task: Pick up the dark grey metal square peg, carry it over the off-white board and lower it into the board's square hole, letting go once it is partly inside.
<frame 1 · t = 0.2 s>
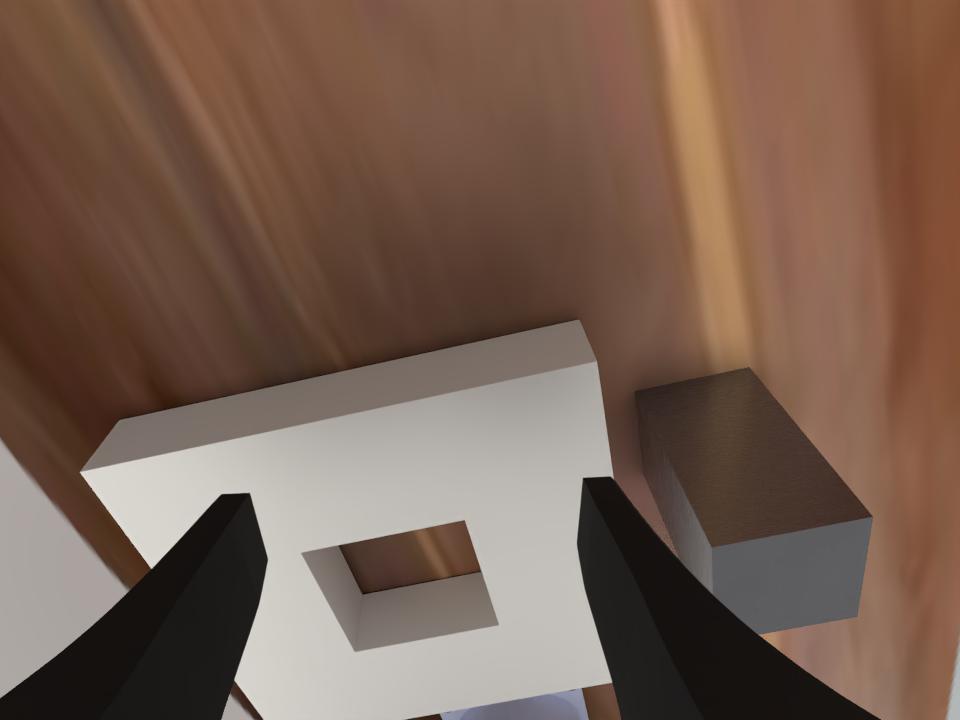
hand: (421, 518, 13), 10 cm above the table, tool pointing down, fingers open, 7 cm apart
square peg: (694, 423, 25), on the table
hole board: (409, 535, 28), on the table
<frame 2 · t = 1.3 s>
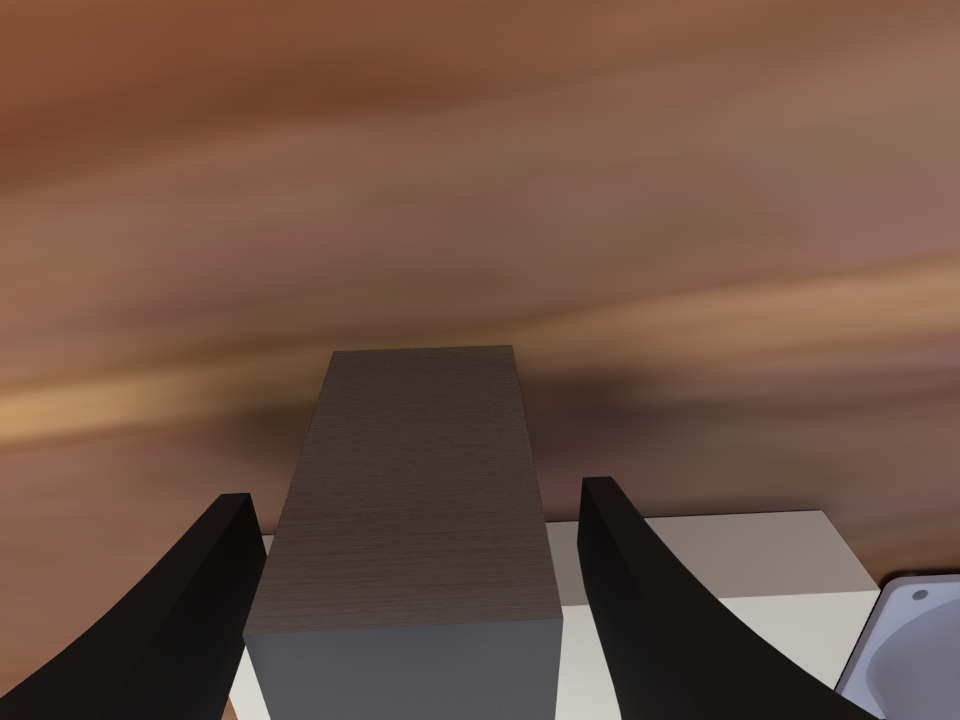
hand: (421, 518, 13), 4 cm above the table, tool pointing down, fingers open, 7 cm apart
square peg: (428, 420, 17), on the table
hole board: (526, 694, 23), on the table
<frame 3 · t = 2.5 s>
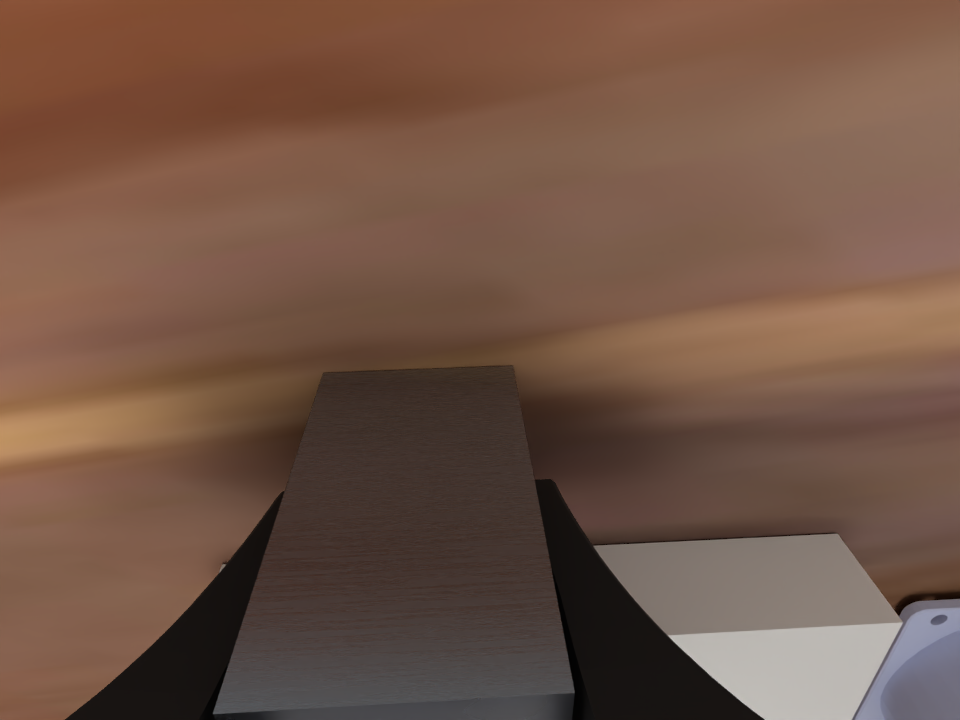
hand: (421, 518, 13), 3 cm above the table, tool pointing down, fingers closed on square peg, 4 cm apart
square peg: (424, 444, 16), on the table, touching gripper
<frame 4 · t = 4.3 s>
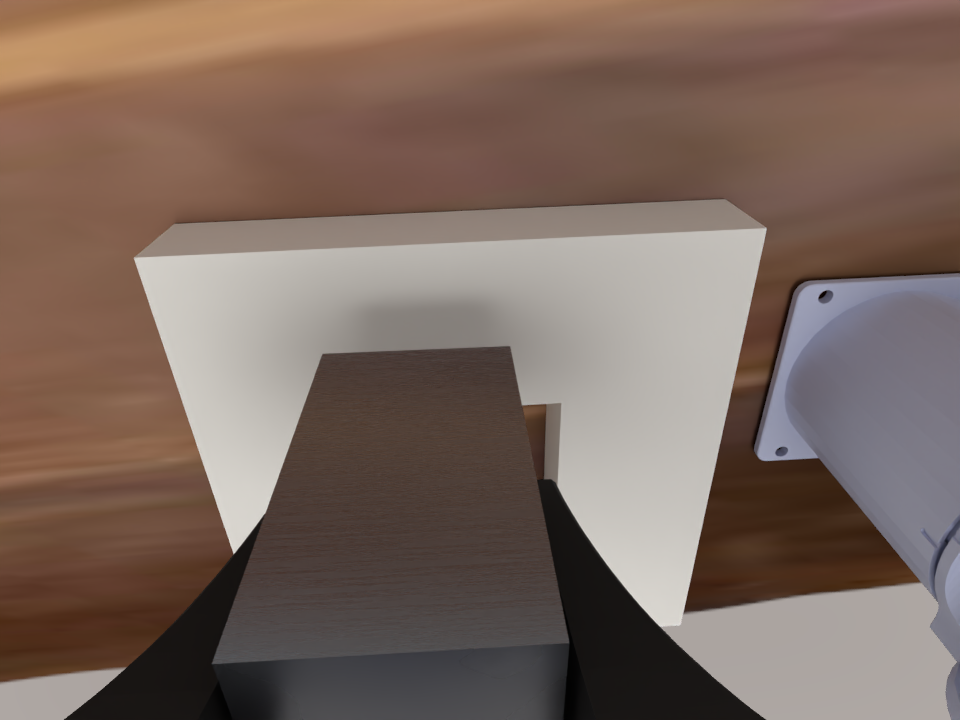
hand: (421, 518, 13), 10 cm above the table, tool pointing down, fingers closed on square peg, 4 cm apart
square peg: (422, 426, 16), point 7 cm above the table, touching gripper
hole board: (465, 431, 24), on the table
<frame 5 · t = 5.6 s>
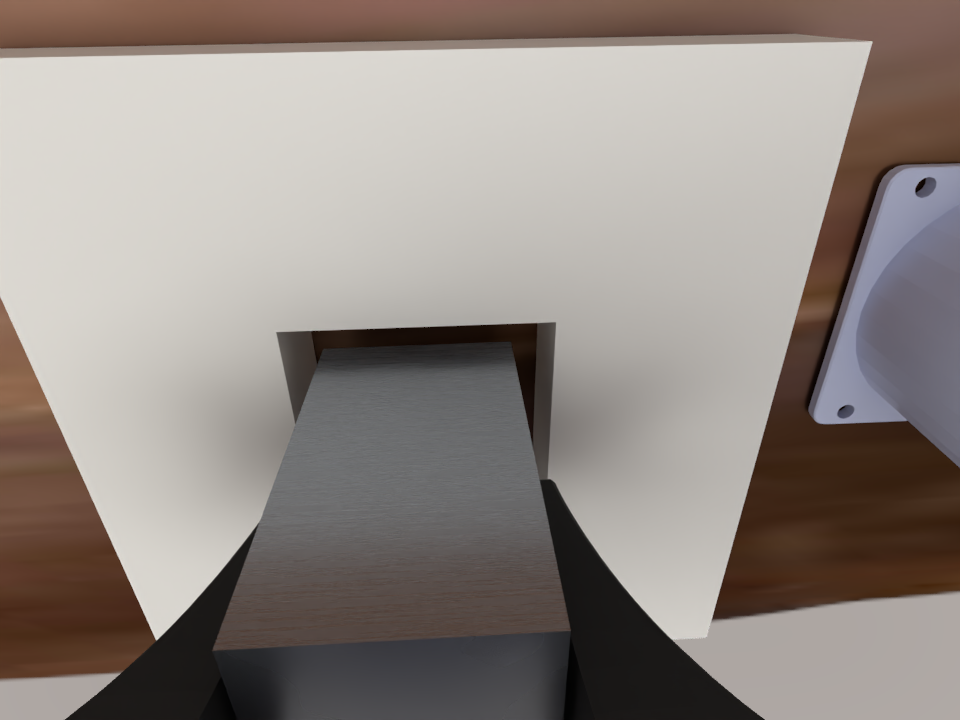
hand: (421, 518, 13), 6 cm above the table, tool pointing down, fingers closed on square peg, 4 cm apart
square peg: (423, 422, 16), point 3 cm above the table, touching gripper
hole board: (428, 376, 18), on the table
when the fingers open (4 cm above the table, at t = 6.5 s): square peg drops 1 cm, resting in hole board.
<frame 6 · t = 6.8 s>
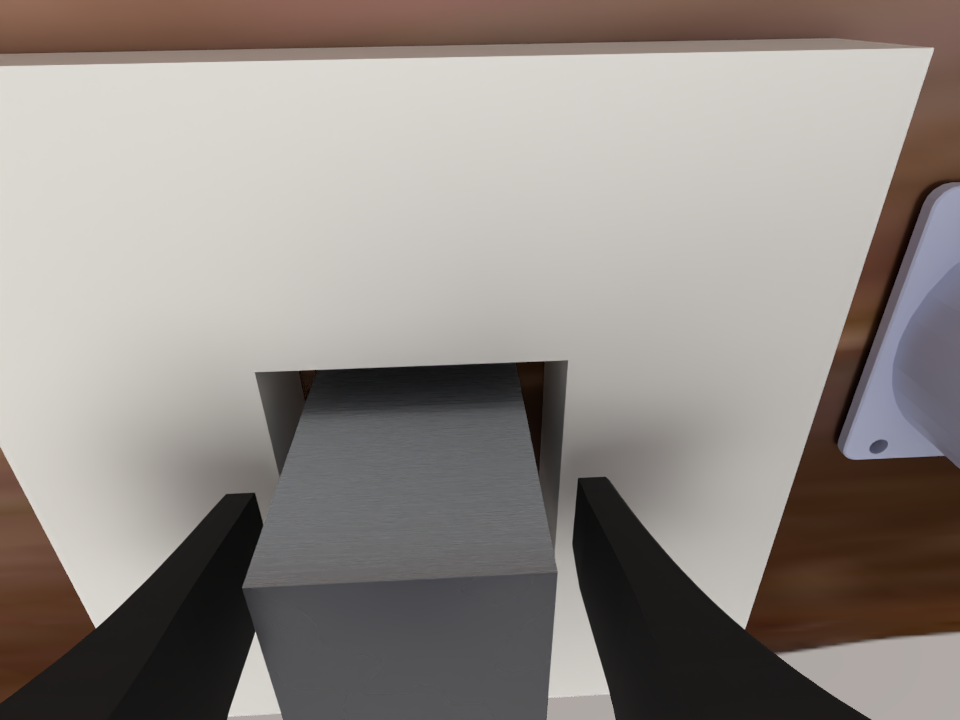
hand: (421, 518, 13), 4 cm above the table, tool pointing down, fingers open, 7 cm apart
square peg: (425, 397, 17), resting in hole board
hole board: (425, 410, 17), on the table
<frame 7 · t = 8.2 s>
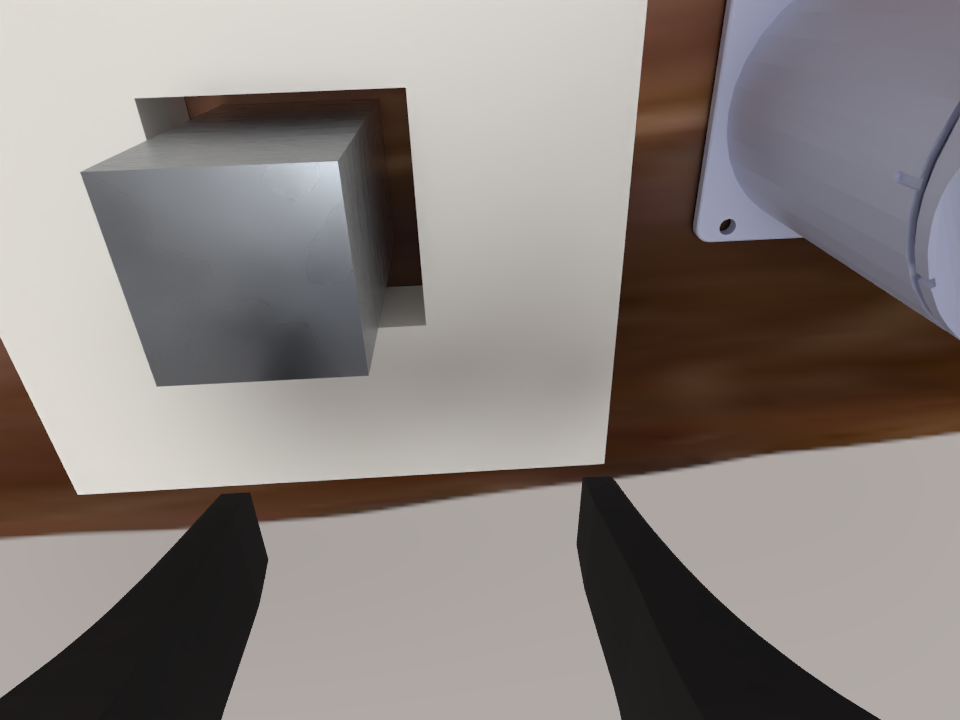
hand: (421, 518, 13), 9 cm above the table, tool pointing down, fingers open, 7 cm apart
square peg: (313, 180, 19), resting in hole board
hole board: (315, 193, 19), on the table
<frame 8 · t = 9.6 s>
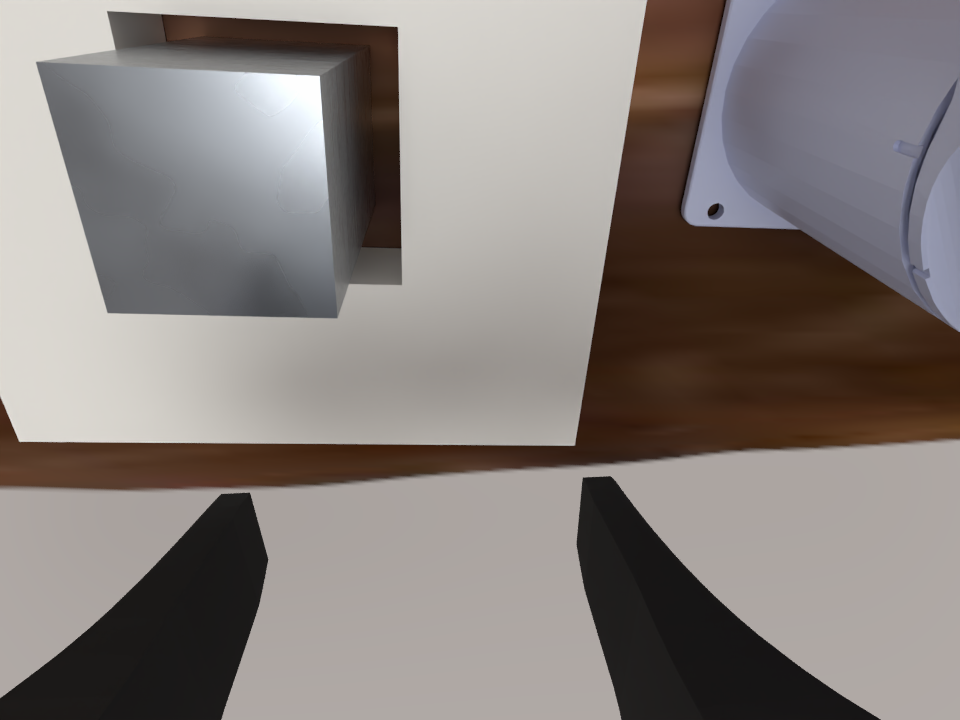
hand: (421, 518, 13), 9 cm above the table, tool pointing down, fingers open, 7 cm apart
square peg: (295, 126, 18), resting in hole board
hole board: (296, 141, 18), on the table
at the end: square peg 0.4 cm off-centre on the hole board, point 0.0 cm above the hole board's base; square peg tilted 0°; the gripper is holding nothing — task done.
